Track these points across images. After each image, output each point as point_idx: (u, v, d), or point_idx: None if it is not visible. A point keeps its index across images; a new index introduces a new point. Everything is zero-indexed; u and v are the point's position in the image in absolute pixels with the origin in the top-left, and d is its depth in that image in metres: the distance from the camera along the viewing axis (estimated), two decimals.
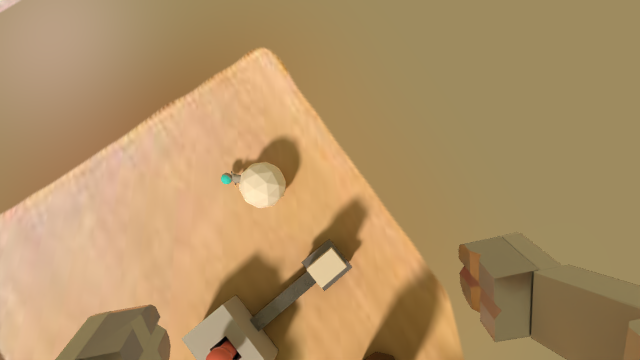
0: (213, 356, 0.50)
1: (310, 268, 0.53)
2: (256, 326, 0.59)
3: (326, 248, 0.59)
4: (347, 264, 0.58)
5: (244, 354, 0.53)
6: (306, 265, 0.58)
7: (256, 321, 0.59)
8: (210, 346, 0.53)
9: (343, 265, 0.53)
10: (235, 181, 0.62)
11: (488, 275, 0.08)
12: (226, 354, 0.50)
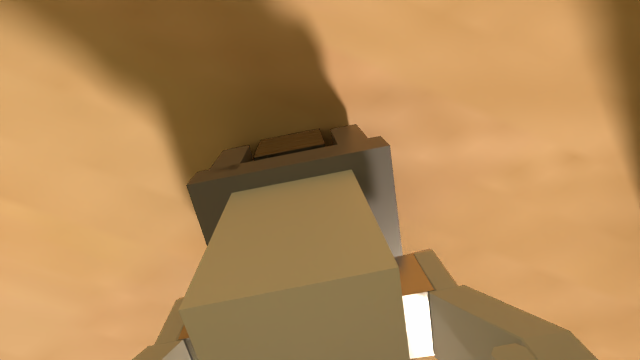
0: None
1: None
2: None
3: None
4: (362, 161, 0.10)
5: None
6: None
7: None
8: None
9: (372, 284, 0.06)
10: None
11: None
12: None
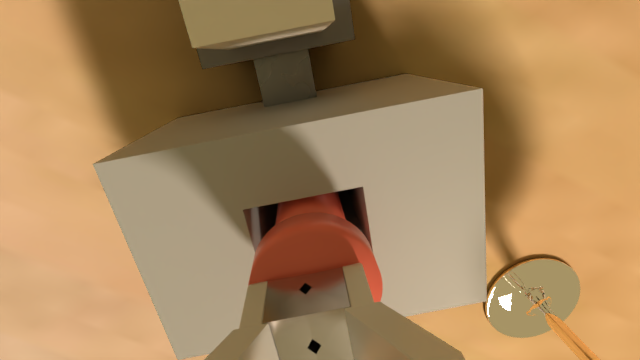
0: None
1: (198, 18, 0.08)
2: (296, 94, 0.16)
3: None
4: None
5: (359, 171, 0.11)
6: (223, 56, 0.13)
7: (279, 85, 0.15)
8: None
9: None
10: None
11: None
12: (300, 240, 0.09)
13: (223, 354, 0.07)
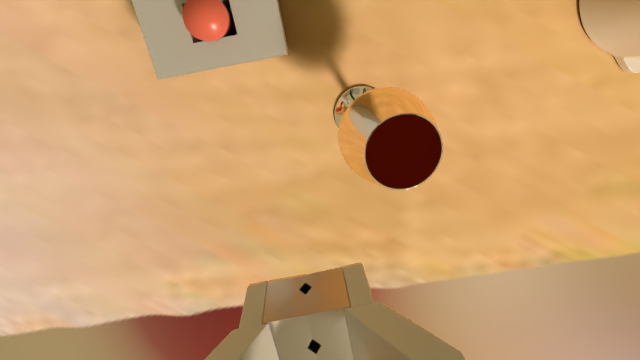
0: (192, 19, 0.29)
1: None
2: None
3: None
4: None
5: None
6: None
7: None
8: (188, 39, 0.31)
9: None
10: None
11: None
12: None
13: (223, 354, 0.07)
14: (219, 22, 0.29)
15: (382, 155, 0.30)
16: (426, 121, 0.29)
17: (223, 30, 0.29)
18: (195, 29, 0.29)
